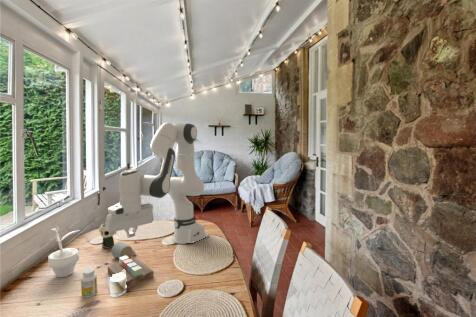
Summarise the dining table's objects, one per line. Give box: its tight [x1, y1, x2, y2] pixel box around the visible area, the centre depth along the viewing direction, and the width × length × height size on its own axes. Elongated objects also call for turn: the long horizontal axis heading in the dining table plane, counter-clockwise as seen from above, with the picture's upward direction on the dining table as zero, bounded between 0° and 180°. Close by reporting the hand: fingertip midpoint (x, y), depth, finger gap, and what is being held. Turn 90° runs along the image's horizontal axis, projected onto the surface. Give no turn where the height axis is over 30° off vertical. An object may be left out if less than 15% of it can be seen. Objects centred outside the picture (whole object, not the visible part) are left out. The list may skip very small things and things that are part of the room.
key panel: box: [107, 256, 154, 289], centre depth 115 cm, size 13×19×3 cm
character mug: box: [98, 222, 117, 249], centre depth 144 cm, size 11×7×13 cm, turn 78°
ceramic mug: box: [111, 241, 136, 259], centre depth 133 cm, size 11×8×8 cm
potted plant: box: [47, 224, 81, 278], centre depth 115 cm, size 13×12×25 cm
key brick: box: [123, 258, 133, 270], centre depth 117 cm, size 3×3×3 cm
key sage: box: [131, 265, 142, 278], centre depth 110 cm, size 3×3×3 cm
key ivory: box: [118, 256, 130, 266], centre depth 120 cm, size 3×3×3 cm
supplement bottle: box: [80, 267, 98, 298], centre depth 101 cm, size 5×5×10 cm
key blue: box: [127, 262, 137, 274], centre depth 114 cm, size 3×3×3 cm
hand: (131, 236), depth 112 cm, fingers closed
